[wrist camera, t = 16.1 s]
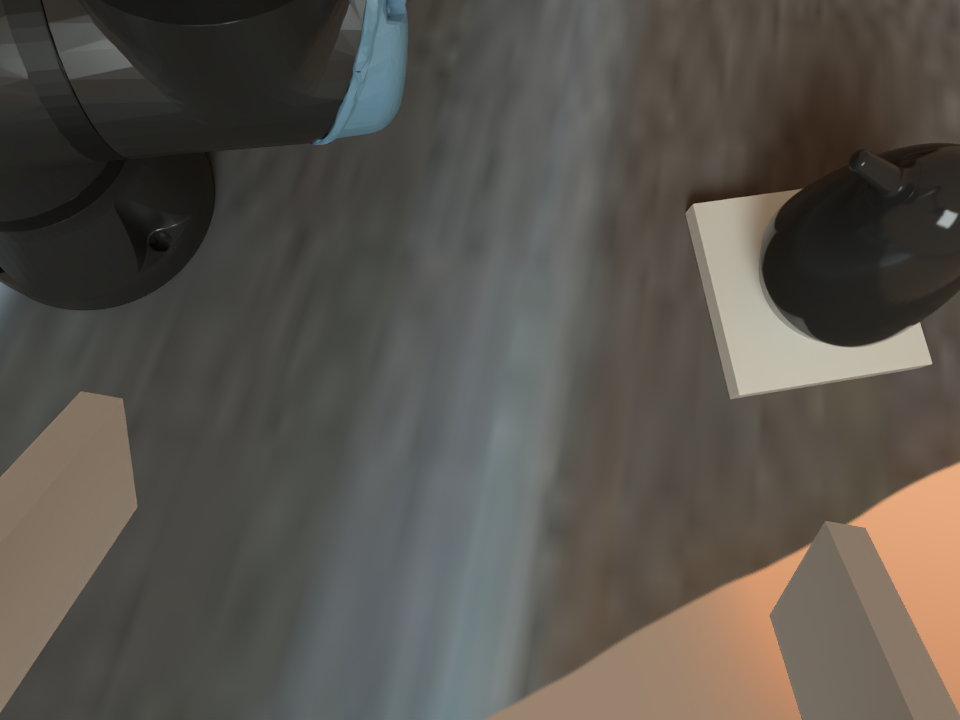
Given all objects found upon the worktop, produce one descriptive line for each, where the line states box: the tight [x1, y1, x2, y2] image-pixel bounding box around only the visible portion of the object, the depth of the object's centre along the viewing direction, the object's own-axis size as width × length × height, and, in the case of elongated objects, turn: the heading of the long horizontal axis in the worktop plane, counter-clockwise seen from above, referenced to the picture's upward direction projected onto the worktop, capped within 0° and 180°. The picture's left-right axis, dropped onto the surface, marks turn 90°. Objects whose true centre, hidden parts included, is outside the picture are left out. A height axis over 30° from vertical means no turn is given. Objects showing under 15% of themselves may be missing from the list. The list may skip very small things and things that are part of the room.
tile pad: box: [685, 189, 932, 399], centre depth 48 cm, size 13×13×2 cm
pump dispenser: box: [758, 143, 960, 348], centre depth 40 cm, size 10×10×15 cm
